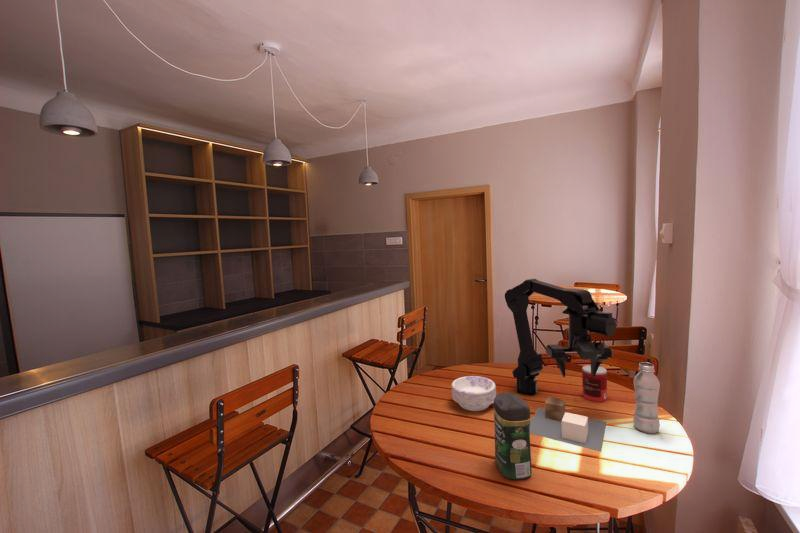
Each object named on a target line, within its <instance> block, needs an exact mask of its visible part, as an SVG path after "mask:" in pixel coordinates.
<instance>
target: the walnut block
mask: <svg viewBox="0 0 800 533" xmlns="http://www.w3.org/2000/svg"><path fill="white" fill-rule="evenodd" d="M544 408H545V418H548V419H552V420H557V421H561V422H562V419H563V416H564V414H565V412H566V399H563V398H562V399H561V398H557V397H552V396H548V397H547V399H546V400H545V402H544Z"/></svg>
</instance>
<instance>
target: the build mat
mask: <svg viewBox="0 0 800 533" xmlns="http://www.w3.org/2000/svg"><path fill="white" fill-rule="evenodd" d="M607 422H608V421H605V420H600V419H595V418H590V417H588V435H587V439H586V443H581V442H577V441H573V440H569V439H565V438H562V422H561V421H557V420H552V419H548V418H545V407H544V408H543V407H538V408H537V409H536V411H535V413H534V415H533V417H532V418H530V435H531V434H532V435H536V436H539V437H543V438H545V439H546V438H547V439H551V440H553V441H558V442H562V443H564V444H569V445H574V446H578V447H582V448H585V449H589V450H593V451H597V452H601V453H602V448H603V444H604V439H605V438H604V437H605V433H606V430H607V429H606V428H607Z"/></svg>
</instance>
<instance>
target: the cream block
mask: <svg viewBox="0 0 800 533" xmlns="http://www.w3.org/2000/svg"><path fill="white" fill-rule="evenodd" d="M588 418H589V416H585V415H582V414H576V413H571V412H567V411H565V414H564V416H563V419H562V438H565V439H569V440H573V441H577V442H581V443H586V439H587V435H588Z"/></svg>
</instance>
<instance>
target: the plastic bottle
mask: <svg viewBox="0 0 800 533" xmlns="http://www.w3.org/2000/svg"><path fill="white" fill-rule="evenodd" d="M638 364H639V365H638V372H637V373H636V374H635V376H634V377H633V378H634V379H633V387H634V393H635V394H634V395H635V406H634V413H633V417H632V418H633V419H632V422H633V426H634V428H636V429H637V430H638V431H640V432H642V433H645V434H651V435H654V434H657V433H658V432H659V430H660V427H661V423H660V418H659V412H658V403H659V400H658V399H659V394H660V387H661V384H660V383H661V382H660V380H659V379H658V378H657V376H656V375H655V374H654V373H655V365H654V364H652V363H650V362H639V363H638Z"/></svg>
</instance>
